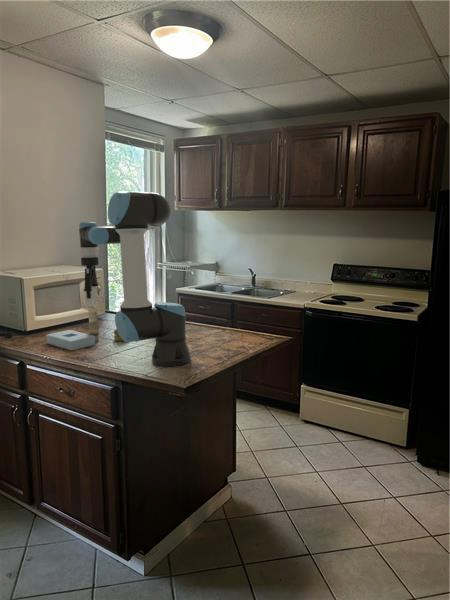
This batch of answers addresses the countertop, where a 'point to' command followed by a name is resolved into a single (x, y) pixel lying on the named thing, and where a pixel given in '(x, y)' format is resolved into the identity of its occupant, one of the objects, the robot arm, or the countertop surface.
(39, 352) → the countertop surface
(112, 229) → the robot arm
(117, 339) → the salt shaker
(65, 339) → the slate board
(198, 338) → the countertop surface
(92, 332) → the beech peg
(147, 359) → the countertop surface
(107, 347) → the countertop surface
